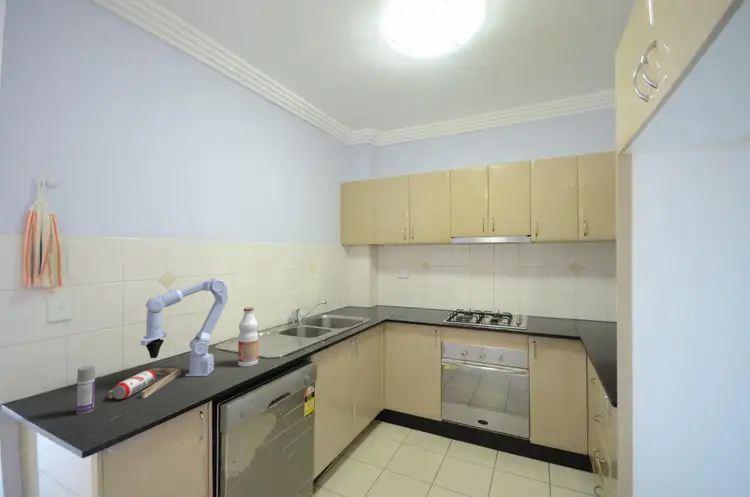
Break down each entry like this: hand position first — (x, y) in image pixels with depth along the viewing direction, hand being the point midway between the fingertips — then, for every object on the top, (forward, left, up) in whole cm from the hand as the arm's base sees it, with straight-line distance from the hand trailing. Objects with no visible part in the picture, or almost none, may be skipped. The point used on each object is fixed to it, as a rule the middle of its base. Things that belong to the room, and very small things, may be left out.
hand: (153, 357), depth 141 cm
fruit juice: (-32, -23, -11) cm, 41 cm away
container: (+7, +26, -11) cm, 29 cm away
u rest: (0, +4, -10) cm, 11 cm away
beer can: (0, +2, -7) cm, 8 cm away
